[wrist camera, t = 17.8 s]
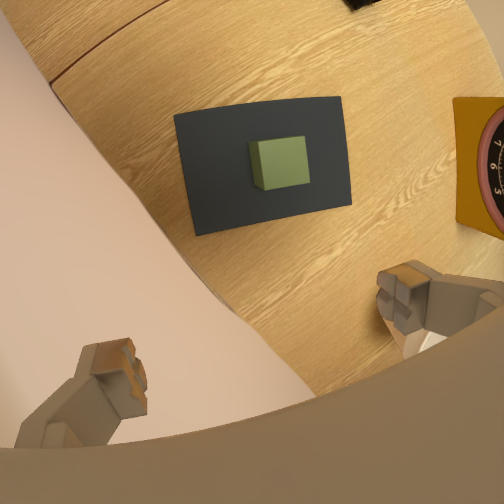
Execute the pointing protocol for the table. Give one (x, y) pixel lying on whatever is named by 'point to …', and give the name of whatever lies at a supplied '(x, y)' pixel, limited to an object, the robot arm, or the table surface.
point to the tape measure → (361, 3)
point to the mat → (240, 169)
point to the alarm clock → (480, 163)
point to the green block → (279, 162)
